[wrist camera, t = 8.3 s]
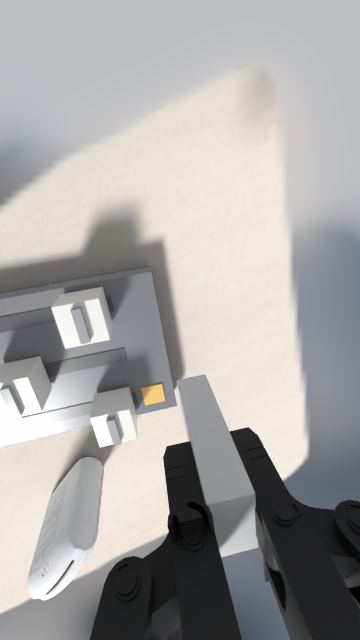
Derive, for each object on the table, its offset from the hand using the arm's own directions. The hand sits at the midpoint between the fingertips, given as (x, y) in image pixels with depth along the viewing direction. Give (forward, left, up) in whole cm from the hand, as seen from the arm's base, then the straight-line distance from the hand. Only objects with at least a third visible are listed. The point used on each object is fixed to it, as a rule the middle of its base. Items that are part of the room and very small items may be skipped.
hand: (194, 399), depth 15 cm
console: (-11, -5, -20) cm, 23 cm away
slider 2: (-7, -11, -16) cm, 21 cm away
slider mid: (-15, -5, -16) cm, 23 cm away
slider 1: (-7, +1, -16) cm, 18 cm away
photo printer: (-16, -25, -20) cm, 36 cm away
